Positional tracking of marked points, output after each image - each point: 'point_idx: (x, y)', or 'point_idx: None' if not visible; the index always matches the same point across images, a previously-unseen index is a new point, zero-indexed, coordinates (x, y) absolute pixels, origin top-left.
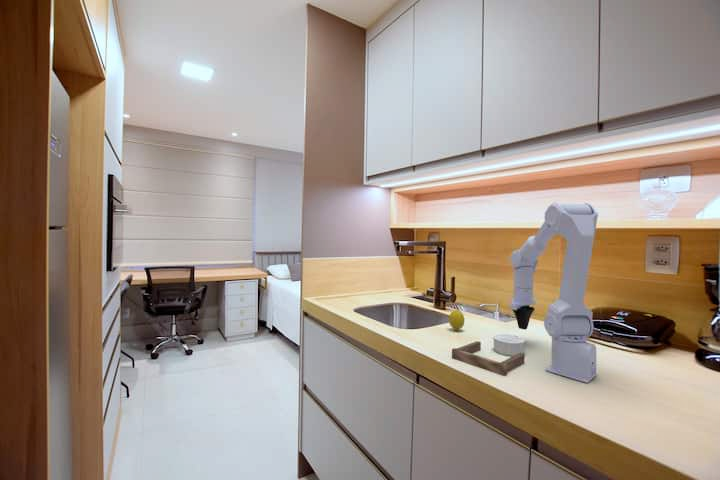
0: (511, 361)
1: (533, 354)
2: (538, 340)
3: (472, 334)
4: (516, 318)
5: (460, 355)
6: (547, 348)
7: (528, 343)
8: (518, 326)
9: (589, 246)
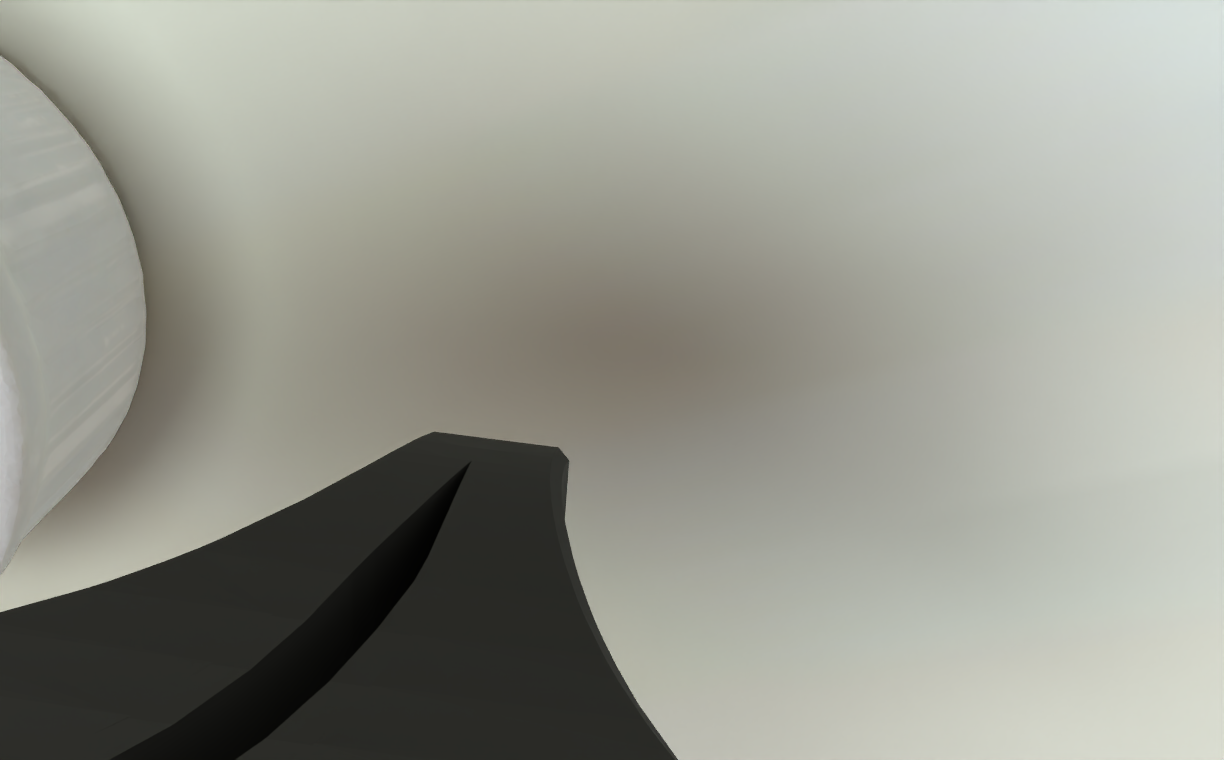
0: None
1: None
2: (1209, 512)
3: None
4: (191, 557)
5: None
6: (713, 742)
7: (781, 409)
8: (401, 450)
9: None
